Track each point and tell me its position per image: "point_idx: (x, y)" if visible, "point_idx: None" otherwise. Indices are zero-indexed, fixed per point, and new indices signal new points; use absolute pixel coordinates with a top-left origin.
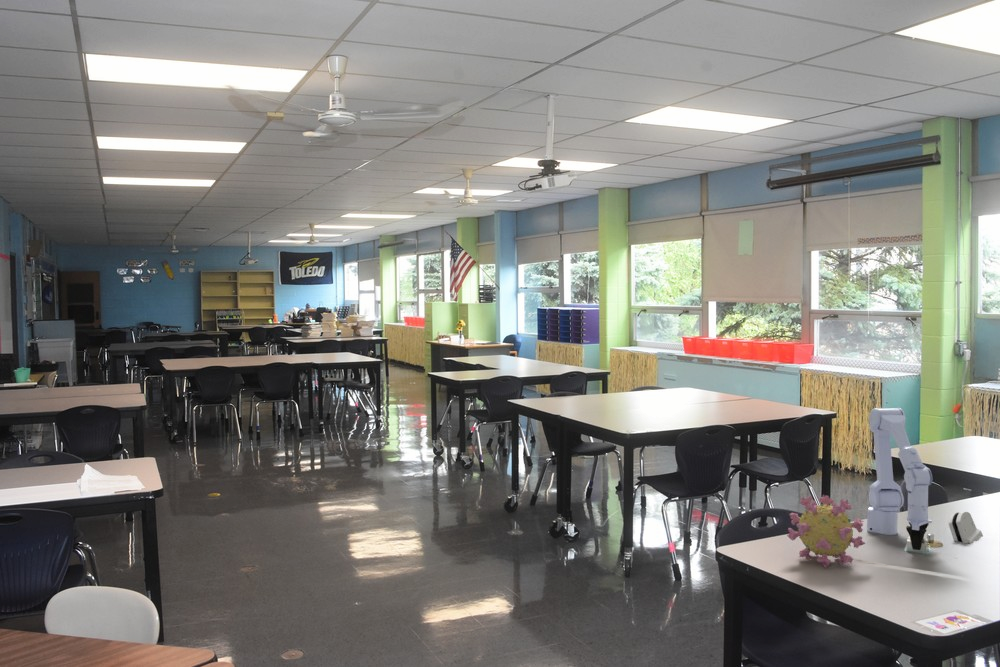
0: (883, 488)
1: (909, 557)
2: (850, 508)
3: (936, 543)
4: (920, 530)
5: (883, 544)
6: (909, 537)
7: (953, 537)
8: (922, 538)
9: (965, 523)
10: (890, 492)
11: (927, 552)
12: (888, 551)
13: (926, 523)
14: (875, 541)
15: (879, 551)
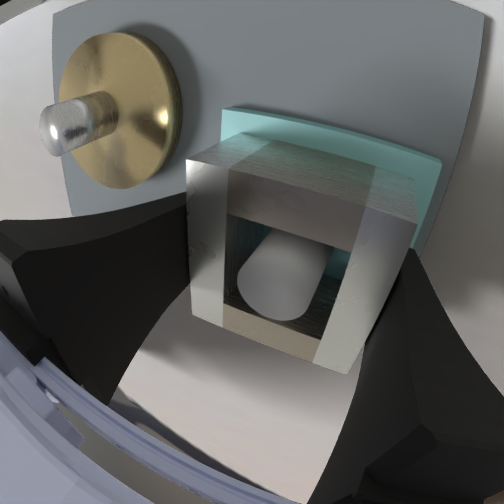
0: None
1: (461, 303)
2: None
3: (106, 71)
4: (483, 496)
5: (224, 349)
6: (216, 318)
7: (11, 15)
8: (465, 346)
9: None
10: None
11: (384, 161)
12: (349, 371)
13: (10, 279)
14: (196, 359)
15: None
